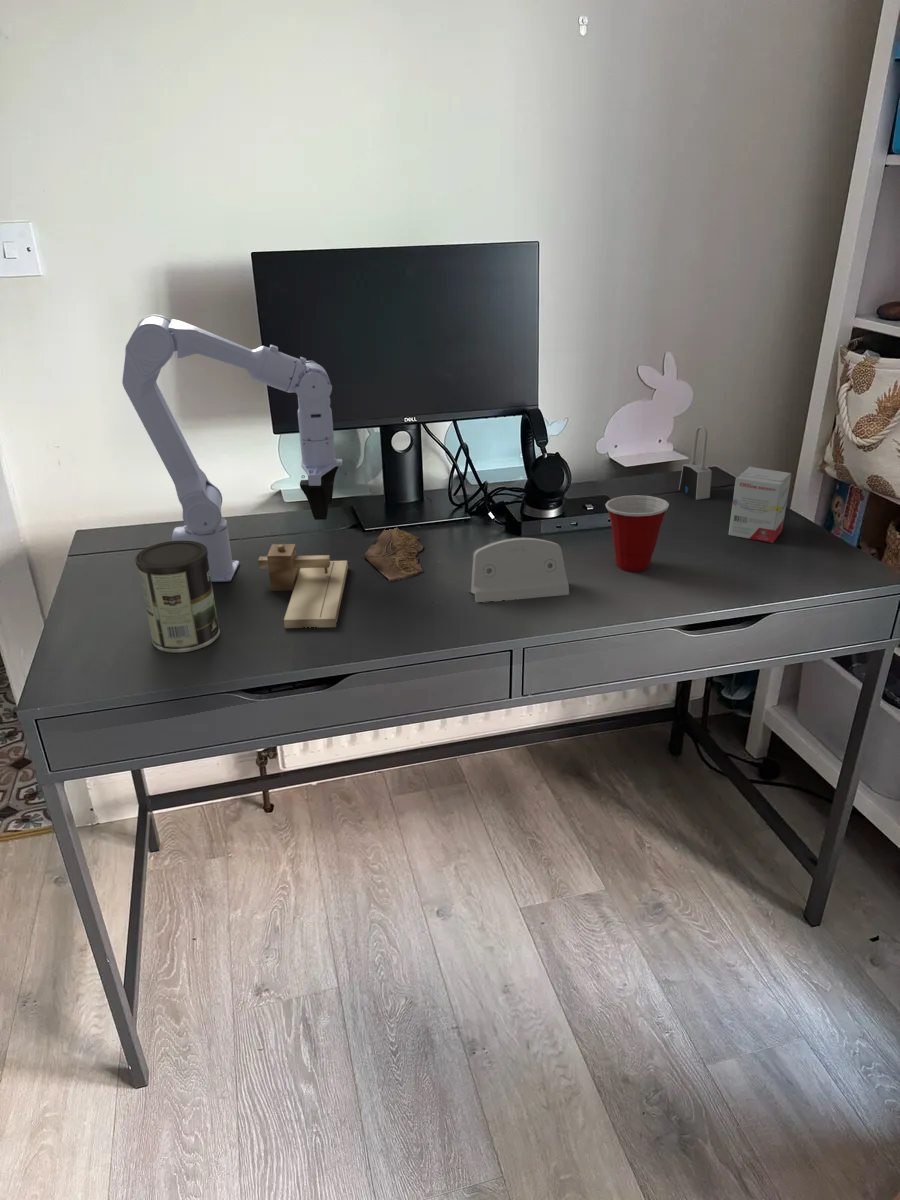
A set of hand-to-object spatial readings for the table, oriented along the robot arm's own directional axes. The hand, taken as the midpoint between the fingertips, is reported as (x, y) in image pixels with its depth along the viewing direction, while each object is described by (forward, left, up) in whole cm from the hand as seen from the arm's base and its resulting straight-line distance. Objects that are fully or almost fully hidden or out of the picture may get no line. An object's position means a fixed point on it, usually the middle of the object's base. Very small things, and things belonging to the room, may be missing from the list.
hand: (323, 511), depth 154 cm
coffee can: (-19, -27, -10) cm, 35 cm away
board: (0, -14, -10) cm, 17 cm away
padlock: (+76, +32, -10) cm, 83 cm away
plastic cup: (+55, -4, -10) cm, 56 cm away
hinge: (+34, -13, -10) cm, 37 cm away
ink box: (+82, +10, -10) cm, 83 cm away
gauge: (-4, -9, -10) cm, 14 cm away
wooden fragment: (+12, +4, -10) cm, 16 cm away
